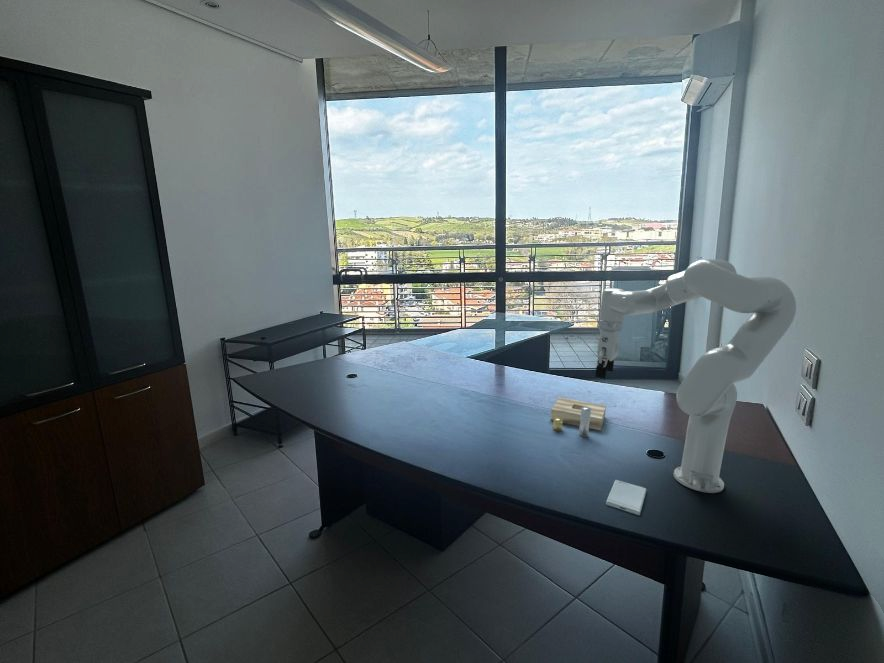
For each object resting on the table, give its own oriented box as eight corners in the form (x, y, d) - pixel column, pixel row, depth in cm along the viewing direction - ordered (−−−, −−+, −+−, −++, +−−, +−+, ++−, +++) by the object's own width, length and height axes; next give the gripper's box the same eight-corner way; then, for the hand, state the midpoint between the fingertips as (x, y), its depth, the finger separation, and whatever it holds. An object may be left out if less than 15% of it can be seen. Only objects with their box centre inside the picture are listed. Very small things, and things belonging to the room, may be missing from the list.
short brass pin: (561, 432, 156) (562, 421, 155) (552, 430, 157) (552, 419, 156) (562, 428, 158) (563, 418, 157) (553, 426, 160) (554, 416, 159)
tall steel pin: (587, 437, 152) (590, 410, 150) (577, 435, 153) (580, 408, 151) (588, 434, 155) (591, 407, 152) (579, 432, 156) (582, 405, 154)
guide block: (600, 430, 158) (602, 418, 157) (550, 420, 165) (551, 408, 164) (604, 416, 170) (606, 405, 169) (557, 407, 178) (558, 397, 177)
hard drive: (615, 479, 124) (606, 500, 114) (646, 488, 120) (640, 511, 110) (614, 484, 125) (605, 506, 114) (645, 493, 120) (639, 517, 110)
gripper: (615, 331, 138) (609, 383, 142) (627, 323, 152) (621, 370, 156) (591, 327, 142) (585, 378, 146) (605, 320, 156) (599, 366, 160)
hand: (604, 373), depth 151 cm, fingers open, 9 cm apart
